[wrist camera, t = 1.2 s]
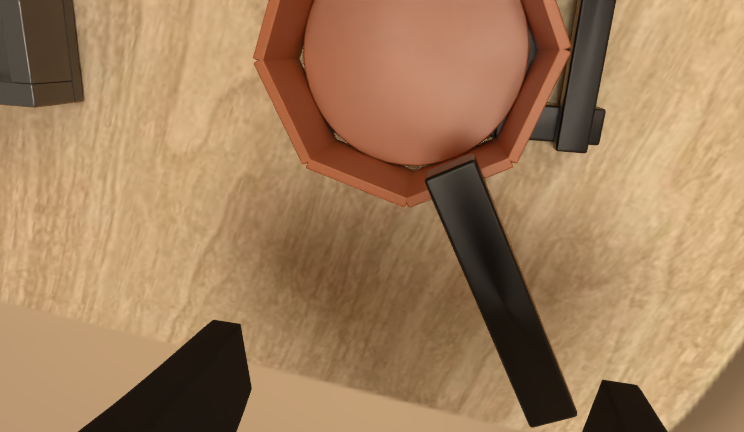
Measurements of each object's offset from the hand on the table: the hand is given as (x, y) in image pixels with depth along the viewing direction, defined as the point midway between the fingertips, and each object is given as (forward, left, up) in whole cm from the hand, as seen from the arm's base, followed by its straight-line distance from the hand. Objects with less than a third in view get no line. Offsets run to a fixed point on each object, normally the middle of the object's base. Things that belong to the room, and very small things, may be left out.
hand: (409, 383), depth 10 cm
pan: (+3, -1, -8) cm, 9 cm away
